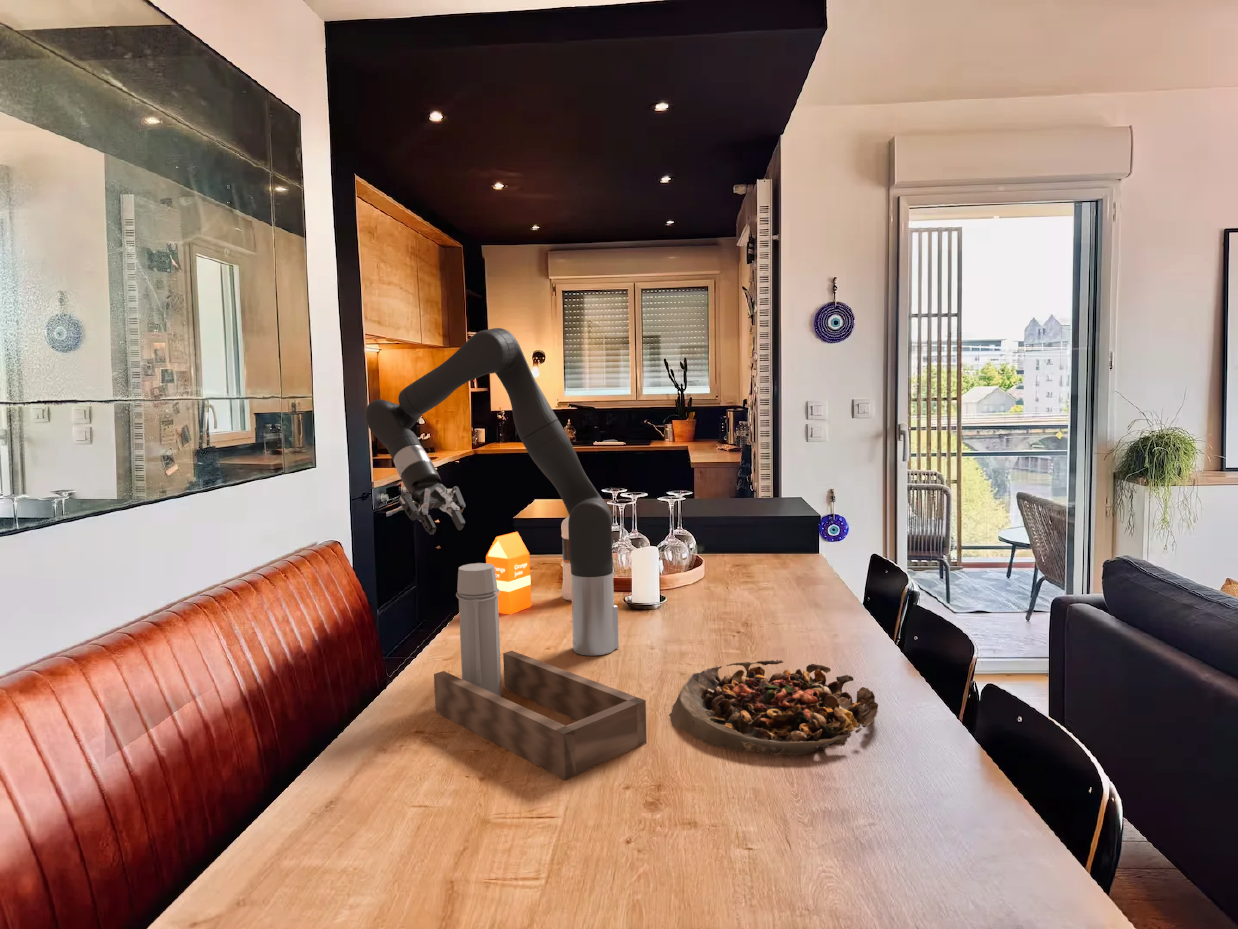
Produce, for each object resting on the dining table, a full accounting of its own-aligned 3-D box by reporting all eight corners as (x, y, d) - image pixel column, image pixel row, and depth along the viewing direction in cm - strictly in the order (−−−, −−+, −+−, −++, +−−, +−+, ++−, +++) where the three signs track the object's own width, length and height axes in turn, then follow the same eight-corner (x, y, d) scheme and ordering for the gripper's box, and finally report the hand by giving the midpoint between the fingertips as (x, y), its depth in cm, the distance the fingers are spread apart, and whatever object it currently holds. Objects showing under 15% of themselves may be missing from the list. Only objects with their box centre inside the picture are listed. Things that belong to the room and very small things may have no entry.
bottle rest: (435, 712, 139) (433, 673, 138) (512, 685, 151) (511, 650, 150) (565, 780, 113) (564, 734, 113) (646, 742, 125) (645, 700, 124)
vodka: (584, 591, 222) (581, 487, 219) (601, 598, 214) (598, 490, 211) (555, 597, 217) (552, 490, 214) (572, 604, 209) (569, 493, 206)
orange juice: (531, 606, 207) (529, 532, 206) (510, 614, 200) (507, 538, 198) (509, 602, 212) (506, 530, 210) (487, 610, 204) (484, 535, 202)
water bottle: (463, 692, 148) (457, 563, 145) (504, 690, 148) (500, 561, 146) (457, 712, 139) (451, 574, 136) (501, 710, 139) (496, 572, 137)
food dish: (878, 696, 145) (879, 656, 144) (875, 785, 114) (877, 734, 113) (694, 672, 156) (694, 634, 155) (645, 746, 125) (645, 700, 124)
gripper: (391, 461, 164) (423, 523, 156) (451, 456, 174) (483, 514, 166) (381, 485, 168) (411, 545, 160) (439, 478, 178) (470, 536, 170)
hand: (447, 529), depth 163 cm, fingers open, 6 cm apart
